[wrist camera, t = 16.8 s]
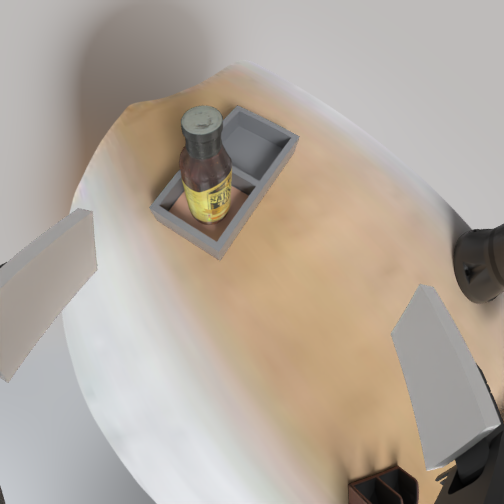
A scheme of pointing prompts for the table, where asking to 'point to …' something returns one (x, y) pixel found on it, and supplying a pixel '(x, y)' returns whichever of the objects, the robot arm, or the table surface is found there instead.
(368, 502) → the letter holder
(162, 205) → the slot caddy
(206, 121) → the sauce bottle
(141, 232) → the table surface
